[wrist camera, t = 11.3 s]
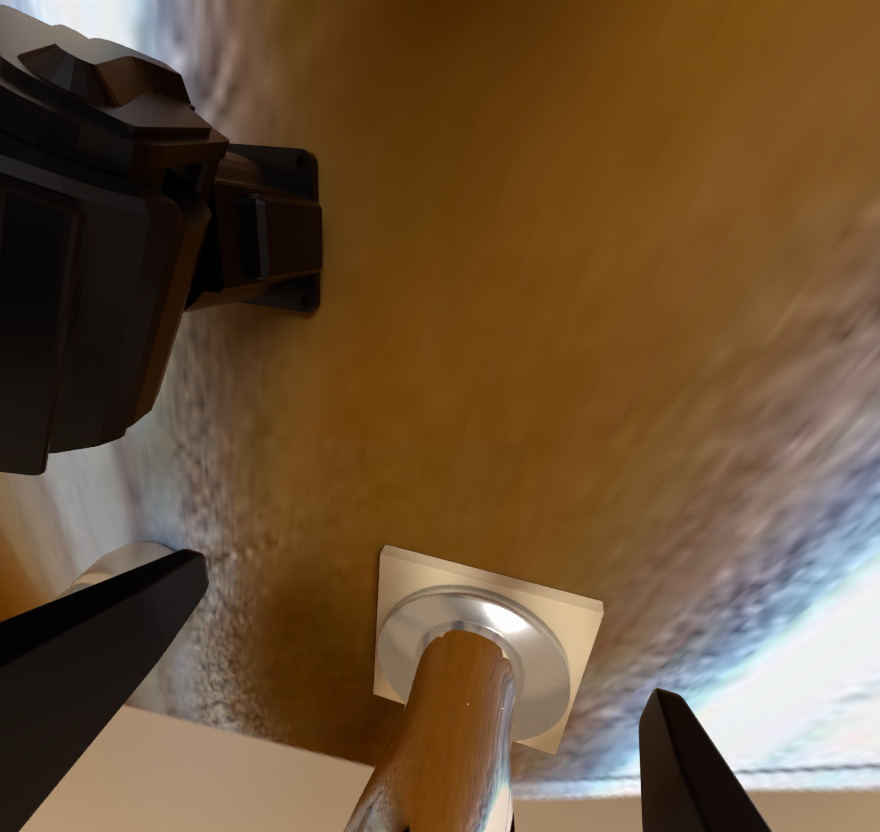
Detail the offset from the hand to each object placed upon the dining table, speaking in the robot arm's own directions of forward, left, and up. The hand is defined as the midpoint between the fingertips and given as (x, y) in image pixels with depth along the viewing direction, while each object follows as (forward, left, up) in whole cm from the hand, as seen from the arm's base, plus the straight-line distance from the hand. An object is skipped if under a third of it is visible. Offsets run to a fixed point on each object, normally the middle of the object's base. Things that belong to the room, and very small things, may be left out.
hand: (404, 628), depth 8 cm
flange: (+1, -16, -13) cm, 21 cm away
